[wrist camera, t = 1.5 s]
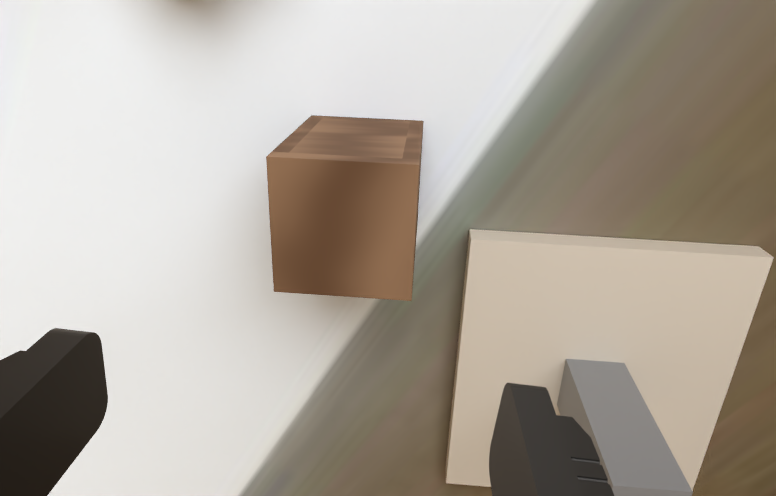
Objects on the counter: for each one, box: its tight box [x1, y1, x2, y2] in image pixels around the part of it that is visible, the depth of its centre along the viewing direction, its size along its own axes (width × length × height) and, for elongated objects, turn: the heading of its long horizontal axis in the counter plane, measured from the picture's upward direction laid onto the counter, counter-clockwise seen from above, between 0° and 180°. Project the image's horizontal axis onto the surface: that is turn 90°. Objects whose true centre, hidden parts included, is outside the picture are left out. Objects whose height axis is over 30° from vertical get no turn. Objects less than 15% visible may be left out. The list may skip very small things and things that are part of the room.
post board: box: [446, 229, 774, 496], centre depth 30 cm, size 16×18×11 cm
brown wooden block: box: [266, 116, 423, 301], centre depth 27 cm, size 6×6×9 cm
